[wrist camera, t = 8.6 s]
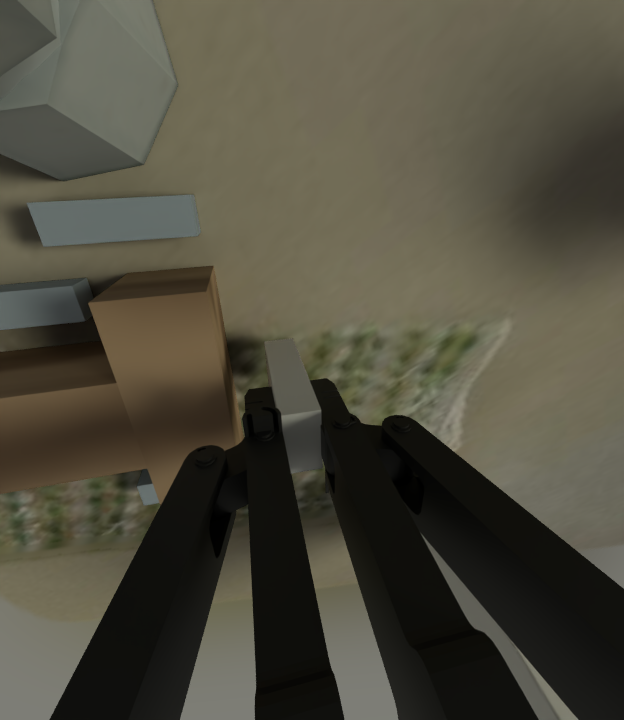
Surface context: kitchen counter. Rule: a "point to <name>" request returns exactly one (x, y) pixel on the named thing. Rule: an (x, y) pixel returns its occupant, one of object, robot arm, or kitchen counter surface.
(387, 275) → the kitchen counter surface
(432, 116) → the kitchen counter surface
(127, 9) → the coffee maker
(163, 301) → the t block
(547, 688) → the milk
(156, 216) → the t bay
